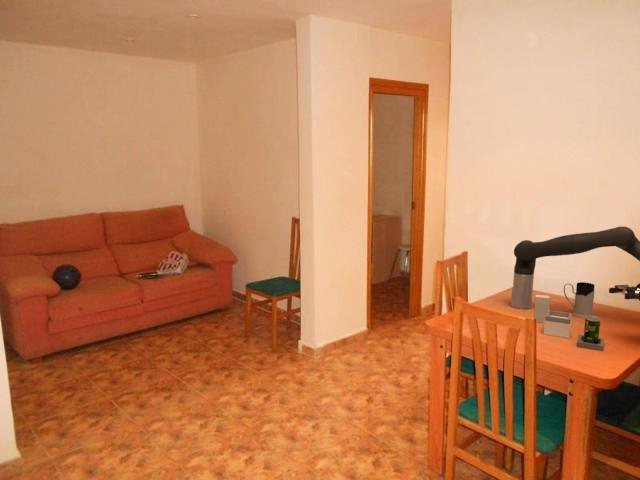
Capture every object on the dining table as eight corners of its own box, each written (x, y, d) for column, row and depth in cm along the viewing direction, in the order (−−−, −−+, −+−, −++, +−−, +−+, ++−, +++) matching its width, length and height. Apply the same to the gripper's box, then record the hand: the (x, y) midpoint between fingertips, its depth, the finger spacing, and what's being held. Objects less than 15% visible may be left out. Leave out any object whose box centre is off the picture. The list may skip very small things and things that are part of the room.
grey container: (588, 319, 242) (591, 288, 239) (558, 311, 253) (560, 281, 250) (596, 315, 248) (599, 284, 245) (566, 308, 258) (568, 278, 256)
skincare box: (547, 320, 241) (549, 295, 239) (548, 323, 237) (550, 298, 235) (533, 319, 243) (535, 294, 240) (533, 322, 239) (535, 296, 237)
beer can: (584, 341, 215) (587, 313, 213) (599, 344, 212) (602, 316, 210) (581, 345, 211) (584, 317, 209) (595, 348, 208) (598, 319, 206)
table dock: (576, 346, 210) (577, 342, 210) (578, 339, 218) (578, 334, 218) (603, 351, 205) (603, 346, 205) (603, 343, 214) (604, 338, 213)
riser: (543, 334, 224) (545, 316, 222) (546, 326, 232) (547, 309, 231) (569, 338, 219) (570, 320, 217) (570, 330, 228) (572, 313, 226)
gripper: (639, 277, 219) (605, 280, 216) (667, 287, 205) (631, 289, 202) (637, 295, 220) (603, 297, 217) (665, 305, 207) (629, 307, 204)
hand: (617, 293), depth 210 cm, fingers open, 8 cm apart
